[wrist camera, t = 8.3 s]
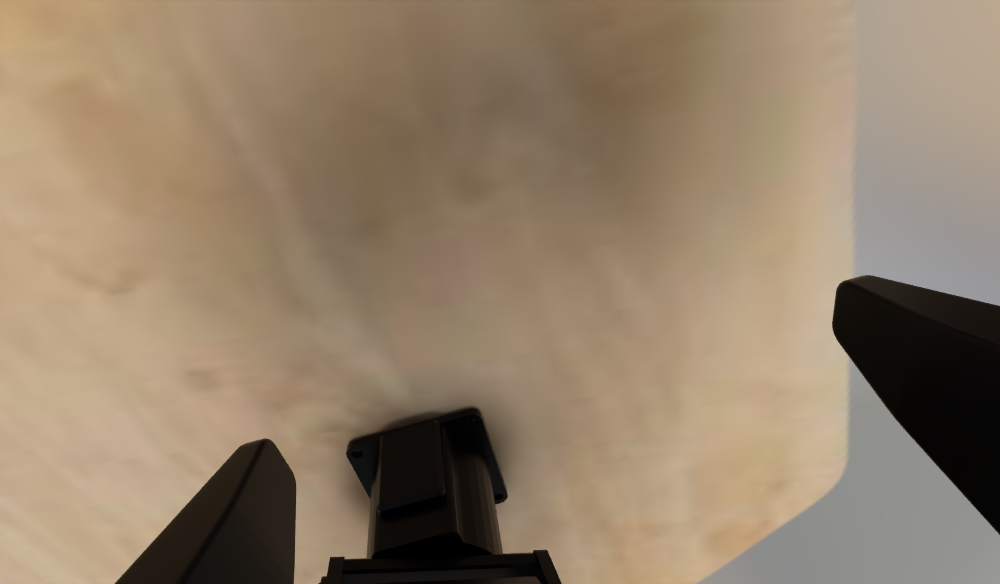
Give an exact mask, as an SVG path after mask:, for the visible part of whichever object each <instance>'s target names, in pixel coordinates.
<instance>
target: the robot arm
mask: <svg viewBox="0 0 1000 584" xmlns="http://www.w3.org/2000/svg"><path fill="white" fill-rule="evenodd" d="M832 327H833V332H834V335H835V337H836V339H837V341H838V342H839V343H840V345H841V346H842V347H843V349H844V350H845V352H846V353H847V354H848V356H849V357H850V358H851V360H852V361H853V362H854V364H855V365H856V367H857V368H858V369H859V371H860V372H861V373H862V375H863V376H864V378H865V379H866V380H867V382H868V383H869V384H870V386H871V387H872V388H873V390H874V391H875V393H876V394H877V395H878V397H879V398H880V399H881V401H882V402H883V403H884V405H885V406H886V407H887V409H888V410H889V411H890V412H891V414H892V415H893V416H894V418H895V419H896V420H897V421H898V422H899V423H900V425H901V426H902V427H903V428H904V429H905V430H906V432H907V433H908V434H909V435H910V436H911V437H912V438H913V439H914V440H915V441H916V443H917V444H918V445H919V446H920V447H921V448H922V449H923V450H924V452H925V453H926V454H927V455H928V456H929V457H930V458H931V459H932V460H933V462H934V463H935V464H936V465H937V466H938V467H939V468H940V469H941V470H942V471H943V472H944V474H945V475H946V476H947V477H948V478H949V479H950V480H951V481H952V482H953V484H954V485H955V486H956V487H957V488H958V489H959V490H960V491H961V492H962V493H963V495H964V496H965V497H966V498H967V499H968V500H969V501H970V502H971V504H972V505H973V506H974V507H975V508H976V509H977V510H978V511H979V512H980V514H981V515H982V516H983V517H984V518H985V519H986V520H987V521H988V522H989V523H990V525H991V526H992V527H993V528H994V529H995V530H996V531H997V532H998V533H999V535H1000V306H997V305H993V304H989V303H985V302H980V301H976V300H972V299H968V298H964V297H959V296H955V295H951V294H947V293H943V292H938V291H934V290H930V289H926V288H922V287H917V286H913V285H909V284H905V283H901V282H896V281H892V280H888V279H884V278H880V277H875V276H870V275H865V276H860V277H857V278H853V279H849V280H846V281H843V282H842V283H840V284H839V286H838V287H837V290H836V297H835V305H834V313H833V321H832ZM469 419H475V420H473V421H468V420H469ZM355 450H360V451H359V452H357V451H355ZM346 454H347V458H348V459H349V461H350V463H351V465H352V467H353V469H354V470H355V472H356V474H357V476H358V478H359V479H360V481H361V483H362V485H363V487H364V489H365V490H366V492H367V494H368V496H369V498H370V500H371V501H370V516H369V530H368V544H367V559H345V557H330V561H329V567H328V573H327V576H325V577H322V579H321V582H320V583H319V584H562V583H561V581H560V579H559V576H558V574H557V572H556V570H555V567H554V565H553V563H552V560H551V558H550V556H549V553H548V551H547V550H534V551H533V553H510V554H503V550H502V544H501V538H500V532H499V526H498V519H497V513H496V507H495V504H499V503H502V502H504V501H505V500H506V499H507V497H508V496H507V490H506V486H505V483H504V480H503V477H502V474H501V471H500V468H499V465H498V462H497V459H496V456H495V453H494V450H493V447H492V444H491V441H490V438H489V435H488V432H487V429H486V426H485V423H484V420H483V417H482V414H481V413H480V411H478V410H476V409H468V410H464V411H460V412H457V413H453V414H449V415H446V416H442V417H438V418H435V419H431V420H428V421H424V422H420V423H417V424H413V425H409V426H406V427H402V428H398V429H395V430H391V431H387V432H384V433H380V434H376V435H373V436H369V437H365V438H362V439H358V440H354V441H352V442H350V443H349V444H348V447H347V453H346ZM295 520H296V481H295V477H294V474H293V472H292V470H291V469H290V467H289V465H288V464H287V462H286V461H285V459H284V458H283V456H282V454H281V453H280V451H279V450H278V448H277V447H276V445H275V444H274V443H273V441H271V440H270V439H261V440H257V441H254V442H250V443H246V444H244V445H242V446H240V447H239V448H238V449H237V450H236V451H235V452H234V453H233V454H232V455H231V457H230V458H229V459H228V460H227V461H226V462H225V463H224V464H223V465H222V466H221V468H220V469H219V470H218V471H217V472H216V473H215V474H214V475H213V476H212V477H211V479H210V480H209V481H208V482H207V483H206V484H205V485H204V486H203V487H202V488H201V490H200V491H199V492H198V493H197V494H196V495H195V496H194V497H193V498H192V499H191V500H190V502H189V503H188V504H187V505H186V506H185V507H184V508H183V509H182V510H181V511H180V513H179V514H178V515H177V516H176V517H175V518H174V519H173V520H172V521H171V522H170V524H169V525H168V526H167V527H166V528H165V529H164V530H163V531H162V532H161V533H160V535H159V536H158V537H157V538H156V539H155V540H154V541H153V542H152V543H151V544H150V545H149V547H148V548H147V549H146V550H145V551H144V552H143V553H142V554H141V555H140V556H139V558H138V559H137V560H136V561H135V562H134V563H133V564H132V565H131V566H130V567H129V569H128V570H127V571H126V572H125V573H124V574H123V575H122V576H121V577H120V578H119V579H118V581H117V582H116V583H115V584H294V564H295Z"/></svg>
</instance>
